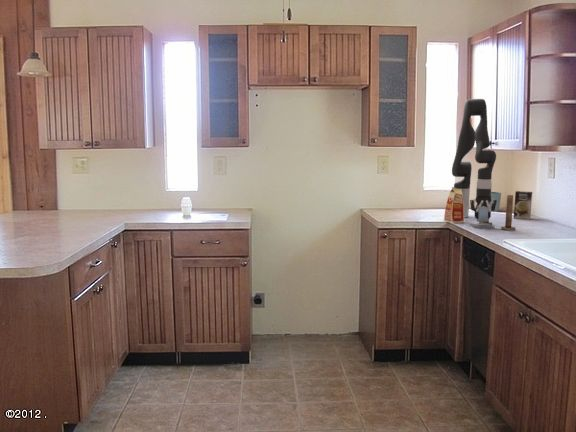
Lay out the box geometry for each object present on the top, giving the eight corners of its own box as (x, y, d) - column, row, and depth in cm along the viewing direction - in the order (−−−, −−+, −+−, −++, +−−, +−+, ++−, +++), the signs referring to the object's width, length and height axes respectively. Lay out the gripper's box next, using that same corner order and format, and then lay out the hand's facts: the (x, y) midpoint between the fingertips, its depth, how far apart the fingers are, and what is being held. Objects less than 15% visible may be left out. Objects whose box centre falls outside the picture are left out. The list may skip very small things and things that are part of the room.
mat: (469, 225, 309) (469, 223, 309) (487, 225, 310) (487, 223, 310) (476, 228, 300) (476, 226, 299) (494, 228, 300) (494, 226, 300)
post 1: (477, 223, 316) (478, 191, 313) (489, 223, 316) (491, 191, 314) (481, 225, 309) (483, 192, 306) (494, 225, 309) (496, 192, 307)
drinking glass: (501, 210, 370) (502, 192, 368) (498, 212, 362) (499, 193, 360) (485, 209, 375) (486, 191, 374) (482, 211, 367) (483, 192, 365)
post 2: (498, 228, 300) (500, 194, 298) (511, 228, 300) (514, 194, 298) (504, 230, 293) (506, 196, 291) (517, 230, 294) (519, 196, 291)
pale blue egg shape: (475, 220, 307) (476, 206, 306) (485, 220, 307) (486, 206, 306) (479, 222, 301) (479, 207, 300) (489, 222, 301) (490, 207, 300)
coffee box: (513, 218, 334) (514, 191, 332) (514, 217, 340) (516, 190, 338) (529, 219, 330) (531, 192, 328) (530, 218, 336) (532, 191, 333)
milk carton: (451, 223, 318) (453, 187, 315) (443, 220, 326) (444, 186, 324) (466, 222, 320) (467, 187, 317) (457, 220, 329) (458, 185, 326)
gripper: (494, 186, 305) (492, 217, 308) (468, 186, 305) (466, 217, 307) (500, 188, 298) (498, 219, 300) (473, 188, 298) (471, 219, 300)
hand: (482, 218), depth 304 cm, fingers closed on pale blue egg shape, 5 cm apart
